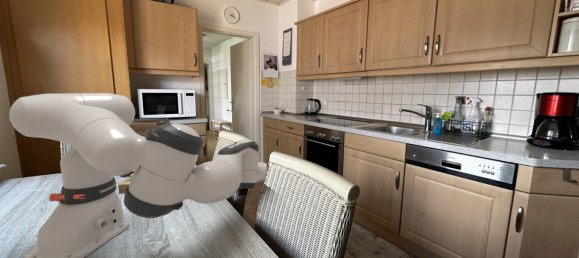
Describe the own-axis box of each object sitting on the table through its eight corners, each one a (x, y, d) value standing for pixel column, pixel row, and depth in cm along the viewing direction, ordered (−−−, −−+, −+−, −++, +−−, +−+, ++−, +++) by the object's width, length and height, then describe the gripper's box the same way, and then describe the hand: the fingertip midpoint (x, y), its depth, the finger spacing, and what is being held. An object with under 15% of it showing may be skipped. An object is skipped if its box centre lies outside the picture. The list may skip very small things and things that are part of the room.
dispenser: (162, 182, 108) (157, 119, 103) (134, 183, 107) (128, 120, 103) (173, 174, 119) (169, 117, 114) (148, 174, 118) (142, 117, 114)
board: (181, 192, 98) (180, 184, 97) (119, 193, 97) (118, 184, 96) (190, 183, 108) (190, 175, 107) (133, 183, 107) (133, 175, 106)
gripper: (222, 189, 92) (185, 190, 92) (233, 172, 113) (202, 172, 112) (222, 173, 92) (184, 173, 91) (232, 158, 112) (201, 158, 111)
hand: (194, 172), depth 102 cm, fingers open, 8 cm apart
